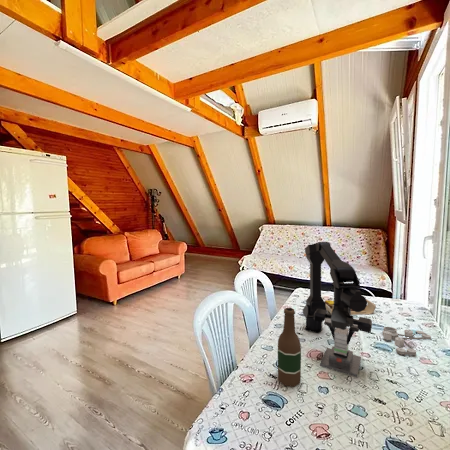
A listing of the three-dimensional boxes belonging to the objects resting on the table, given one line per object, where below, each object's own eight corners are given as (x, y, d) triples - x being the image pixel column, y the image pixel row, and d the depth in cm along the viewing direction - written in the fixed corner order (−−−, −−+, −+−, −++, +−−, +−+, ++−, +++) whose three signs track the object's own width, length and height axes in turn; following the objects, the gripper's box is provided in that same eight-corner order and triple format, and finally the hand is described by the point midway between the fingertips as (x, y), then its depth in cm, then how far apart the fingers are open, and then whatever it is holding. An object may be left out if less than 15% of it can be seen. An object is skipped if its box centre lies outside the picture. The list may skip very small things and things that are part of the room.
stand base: (319, 365, 94) (320, 356, 93) (327, 350, 104) (327, 341, 103) (357, 377, 87) (357, 367, 87) (360, 359, 97) (361, 350, 97)
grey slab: (333, 353, 94) (334, 332, 93) (336, 346, 99) (336, 325, 98) (346, 357, 92) (346, 335, 91) (348, 349, 96) (348, 328, 96)
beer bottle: (297, 391, 81) (297, 316, 79) (273, 382, 85) (273, 310, 83) (303, 376, 88) (304, 307, 86) (281, 369, 92) (282, 303, 90)
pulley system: (369, 346, 108) (412, 360, 96) (369, 335, 108) (412, 348, 96) (394, 328, 125) (433, 339, 113) (394, 318, 125) (433, 328, 113)
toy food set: (357, 302, 155) (357, 289, 154) (376, 315, 136) (376, 300, 136) (315, 303, 154) (315, 290, 153) (328, 316, 135) (329, 302, 135)
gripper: (309, 302, 92) (309, 345, 93) (370, 314, 82) (368, 361, 83) (317, 293, 101) (316, 332, 102) (372, 302, 91) (371, 345, 92)
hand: (341, 342), depth 95 cm, fingers closed on grey slab, 4 cm apart
